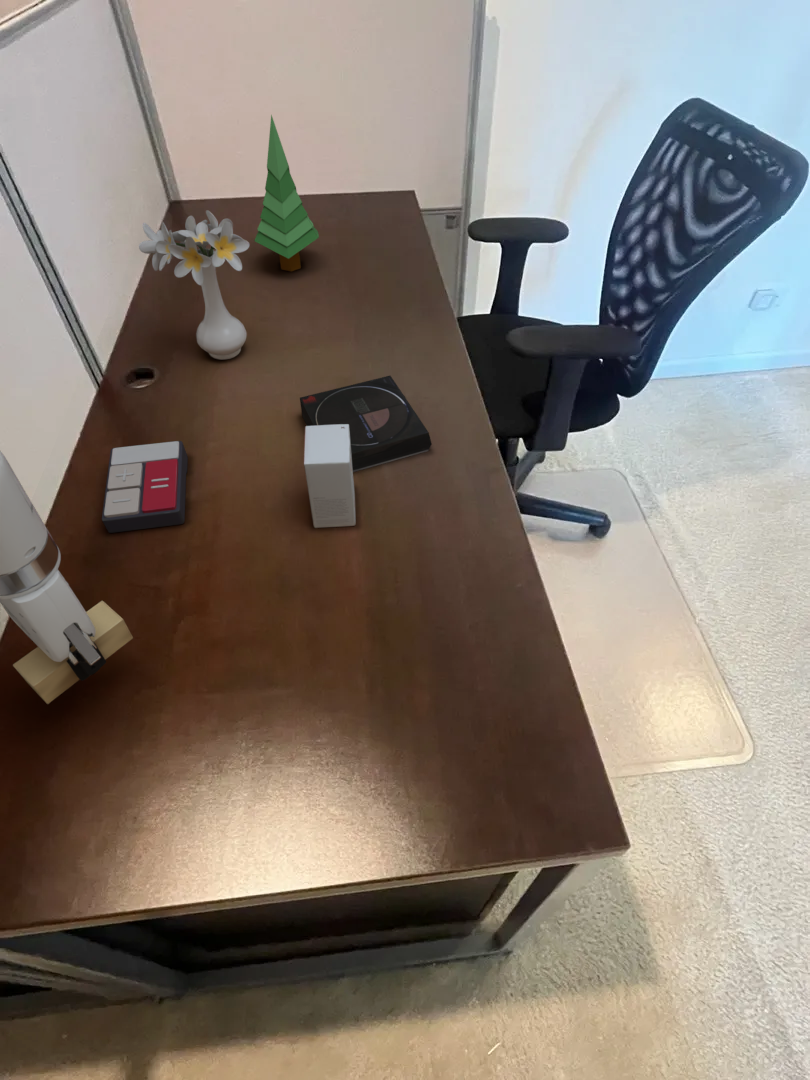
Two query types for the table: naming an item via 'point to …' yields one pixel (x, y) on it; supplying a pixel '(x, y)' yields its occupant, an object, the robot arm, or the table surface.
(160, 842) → the table surface
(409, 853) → the table surface
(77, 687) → the table surface
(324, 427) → the small box
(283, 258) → the decorative tree
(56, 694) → the wood bar
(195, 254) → the flower vase
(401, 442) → the portable cd player
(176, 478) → the calculator
